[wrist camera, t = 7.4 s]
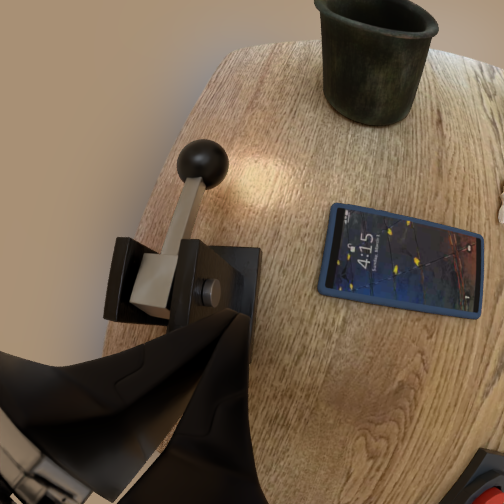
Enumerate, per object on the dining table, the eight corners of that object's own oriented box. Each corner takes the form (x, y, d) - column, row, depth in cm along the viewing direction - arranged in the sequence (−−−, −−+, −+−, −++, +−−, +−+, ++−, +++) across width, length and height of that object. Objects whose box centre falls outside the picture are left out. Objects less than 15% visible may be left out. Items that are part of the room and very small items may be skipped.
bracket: (183, 248, 24) (113, 198, 14) (262, 251, 23) (227, 192, 13) (170, 350, 22) (86, 356, 12) (251, 363, 20) (203, 391, 11)
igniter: (458, 525, 10) (468, 539, 6) (419, 524, 12) (428, 541, 8) (512, 454, 11) (528, 463, 8) (479, 447, 13) (497, 458, 10)
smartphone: (481, 319, 16) (316, 293, 20) (477, 320, 17) (315, 294, 21) (484, 234, 18) (331, 199, 22) (480, 236, 19) (331, 204, 22)
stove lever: (194, 166, 21) (179, 132, 18) (237, 164, 20) (226, 126, 17) (146, 317, 15) (111, 295, 12) (200, 326, 15) (173, 306, 12)
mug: (299, 102, 26) (287, 6, 15) (357, 49, 27) (359, -24, 16) (391, 150, 23) (422, 51, 11) (431, 84, 24) (452, 11, 13)
